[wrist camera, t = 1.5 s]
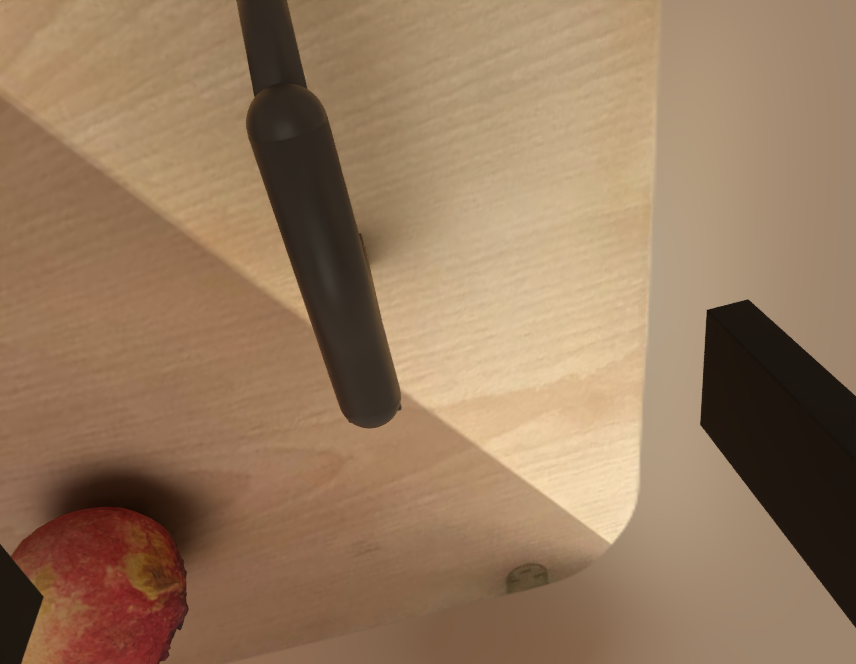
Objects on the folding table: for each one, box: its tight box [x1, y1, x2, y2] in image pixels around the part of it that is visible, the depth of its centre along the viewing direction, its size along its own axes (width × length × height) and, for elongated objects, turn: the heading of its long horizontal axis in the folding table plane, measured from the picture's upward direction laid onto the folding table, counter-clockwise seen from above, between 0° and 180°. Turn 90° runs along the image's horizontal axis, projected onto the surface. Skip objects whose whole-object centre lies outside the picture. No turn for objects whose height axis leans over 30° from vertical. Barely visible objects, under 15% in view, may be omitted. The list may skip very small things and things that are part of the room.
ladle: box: [236, 0, 402, 428], centre depth 18 cm, size 19×6×10 cm, turn 10°
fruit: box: [11, 507, 189, 664], centre depth 30 cm, size 8×8×8 cm
